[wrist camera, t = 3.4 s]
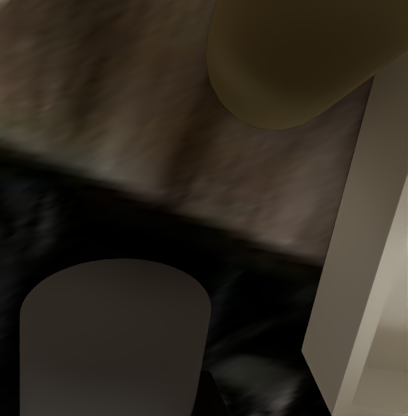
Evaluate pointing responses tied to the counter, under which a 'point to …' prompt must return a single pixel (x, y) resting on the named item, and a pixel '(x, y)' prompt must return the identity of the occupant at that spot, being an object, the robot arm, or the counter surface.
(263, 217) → the counter surface
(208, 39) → the cork
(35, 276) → the counter surface
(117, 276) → the dark grey cylinder
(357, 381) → the slot tray
